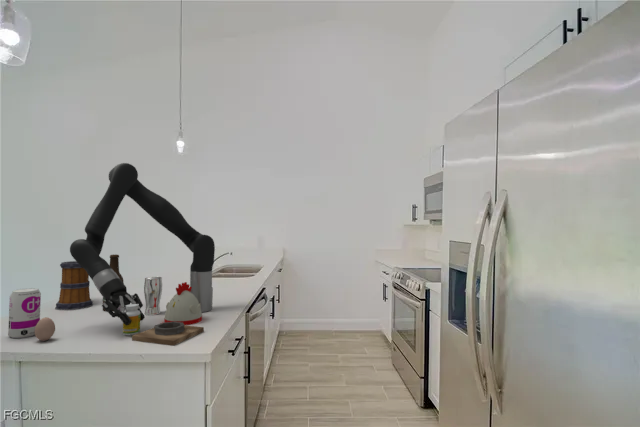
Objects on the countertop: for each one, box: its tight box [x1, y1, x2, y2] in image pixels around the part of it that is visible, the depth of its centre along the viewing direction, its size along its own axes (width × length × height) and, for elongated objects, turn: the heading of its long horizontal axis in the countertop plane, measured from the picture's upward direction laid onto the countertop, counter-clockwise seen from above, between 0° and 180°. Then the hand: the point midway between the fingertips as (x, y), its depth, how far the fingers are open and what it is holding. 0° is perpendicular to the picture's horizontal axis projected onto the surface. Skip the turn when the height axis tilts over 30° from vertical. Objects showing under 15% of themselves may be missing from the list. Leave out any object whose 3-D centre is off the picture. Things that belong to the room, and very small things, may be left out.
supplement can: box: [7, 287, 42, 339], centre depth 124 cm, size 8×8×15 cm
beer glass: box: [143, 276, 163, 316], centre depth 155 cm, size 7×7×15 cm
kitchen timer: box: [163, 281, 203, 326], centre depth 144 cm, size 14×14×15 cm
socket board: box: [131, 322, 205, 346], centre depth 125 cm, size 16×16×4 cm
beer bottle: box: [102, 254, 125, 313], centre depth 161 cm, size 8×8×24 cm
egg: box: [34, 316, 56, 342], centre depth 118 cm, size 5×5×7 cm
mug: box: [54, 260, 94, 311], centre depth 168 cm, size 19×14×20 cm
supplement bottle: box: [122, 303, 141, 336], centre depth 127 cm, size 5×5×10 cm
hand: (135, 321), depth 126 cm, fingers closed on supplement bottle, 5 cm apart
